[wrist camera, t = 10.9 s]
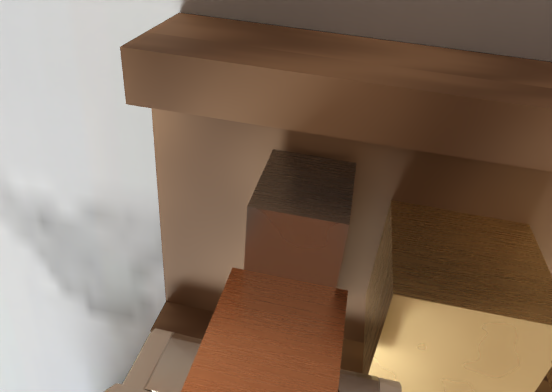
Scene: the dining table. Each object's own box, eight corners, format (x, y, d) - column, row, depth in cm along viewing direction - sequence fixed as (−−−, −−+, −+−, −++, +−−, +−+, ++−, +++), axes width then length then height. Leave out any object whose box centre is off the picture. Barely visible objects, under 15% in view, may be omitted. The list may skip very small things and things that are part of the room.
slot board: (810, 96, 13) (961, 168, 9) (601, 369, 19) (647, 466, 16) (179, 12, 15) (120, 46, 11) (188, 285, 21) (153, 356, 18)
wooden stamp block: (367, 164, 13) (346, 440, 6) (331, 330, 17) (295, 609, 10) (262, 147, 13) (142, 391, 7) (251, 314, 17) (167, 572, 11)
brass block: (528, 224, 14) (575, 329, 10) (483, 317, 16) (510, 429, 12) (390, 200, 14) (393, 294, 11) (366, 294, 16) (361, 396, 13)
